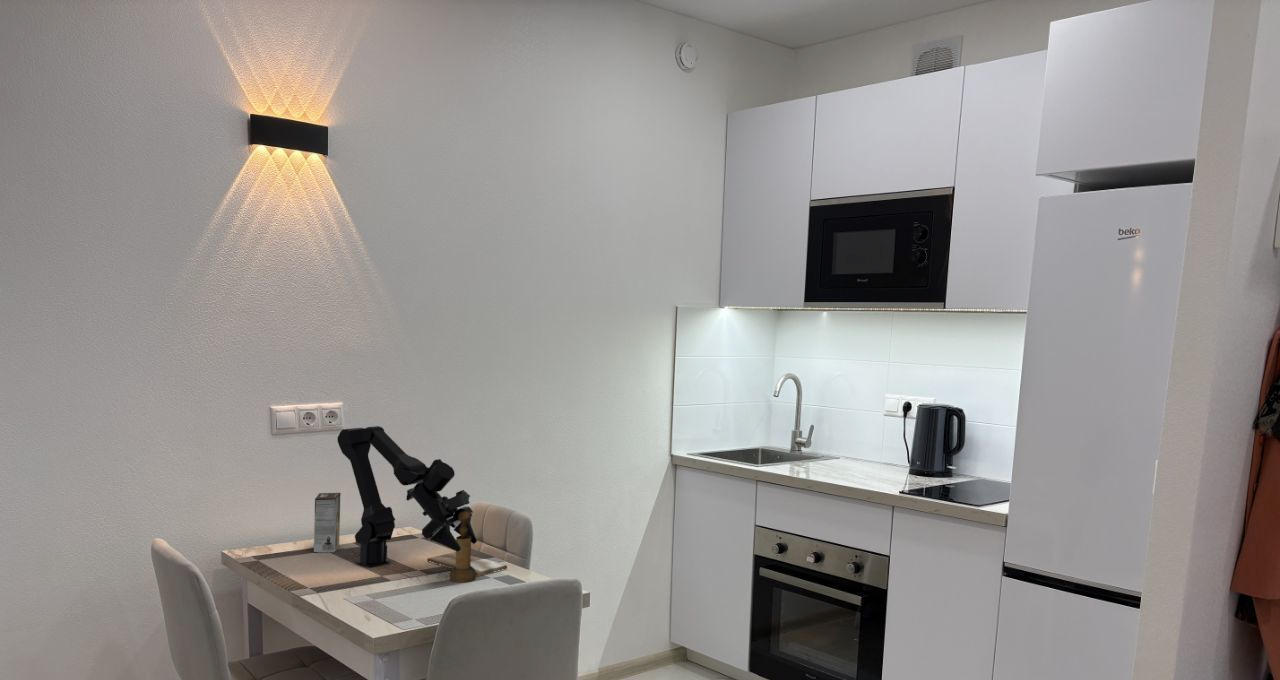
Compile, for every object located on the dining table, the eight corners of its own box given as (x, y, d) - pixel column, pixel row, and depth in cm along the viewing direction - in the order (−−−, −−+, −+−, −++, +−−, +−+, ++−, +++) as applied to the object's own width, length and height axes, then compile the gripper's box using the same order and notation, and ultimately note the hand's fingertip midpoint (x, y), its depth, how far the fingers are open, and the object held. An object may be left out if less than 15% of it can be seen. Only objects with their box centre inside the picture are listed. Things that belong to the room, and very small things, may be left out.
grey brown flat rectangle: (477, 576, 229) (477, 572, 229) (427, 561, 243) (427, 557, 243) (507, 569, 237) (507, 564, 237) (456, 555, 251) (456, 551, 251)
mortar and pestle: (453, 583, 222) (455, 514, 222) (446, 577, 228) (448, 509, 228) (478, 580, 225) (480, 512, 225) (471, 574, 231) (473, 508, 231)
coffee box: (317, 545, 258) (318, 492, 258) (339, 545, 260) (341, 492, 260) (313, 553, 249) (314, 498, 250) (336, 552, 251) (337, 497, 251)
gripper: (433, 487, 218) (471, 533, 215) (467, 476, 236) (503, 519, 233) (405, 515, 220) (443, 562, 217) (440, 503, 238) (476, 546, 235)
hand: (467, 546), depth 226 cm, fingers open, 9 cm apart
